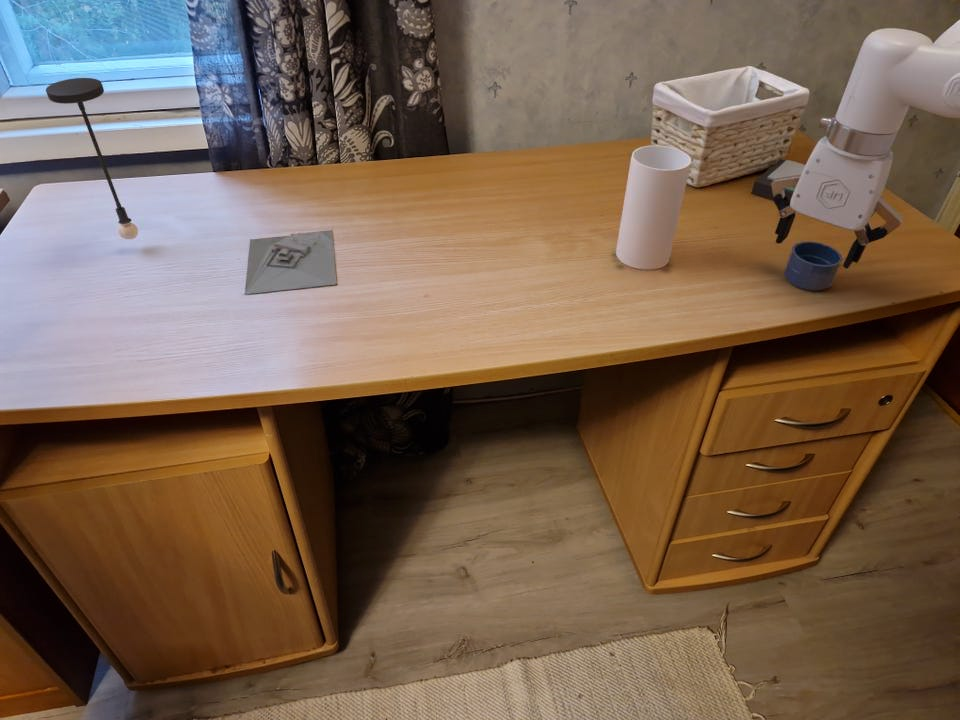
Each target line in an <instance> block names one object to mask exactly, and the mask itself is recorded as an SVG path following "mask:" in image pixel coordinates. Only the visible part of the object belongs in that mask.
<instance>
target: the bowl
mask: <svg viewBox="0 0 960 720" xmlns="http://www.w3.org/2000/svg"><path fill="white" fill-rule="evenodd" d="M842 263H843V255H842V254H841V253H840V251H839V250H838V249H836V248H834V247H832V246H831V245H829V244H825V243H823V242H818V241H813V240H812V241H811V240H810V241H809V240H808V241H805V240H804V241H800V242H796V243H795V244H794V245H793V246H792V247H791V249H790V252H789V255H788V256H787V261H786V263H785V265H784V269H783V276H785V279H786V280H787V281H788V282H789V283H790V284H792V285H793V286H794V287H796V288H799V289H801V290H805V291H811V292H819V291H822V290H826V289H828V288H831V286H832V285H833V284H834V282H835V279H836V277H837V275H838V273H839V270H840V267H841V265H842Z"/></svg>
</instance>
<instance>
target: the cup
mask: <svg viewBox="0 0 960 720" xmlns="http://www.w3.org/2000/svg"><path fill="white" fill-rule="evenodd" d="M690 165H691V158H690V157H689V155H688V154H686V153H685V152H683V151H681V150H678V149H676V148H672V147H667V146H657V145H654V146H651V145H645V146H644V145H643V146H640V147H638V148H636V149H634V151H632V154H631V157H630V163H629V169H628V176H627V180H626V187H625V193H624V199H623V204H622V212H621V219H620V224H619V230H618V231H619V232H618V235H617V242H616V248H615V256H616V258H617V259H618V260H619V261H620V262H621V264H624V265H625V266H629V267H630V268H633V269H638V270H642V271H643V270H646V271H651V270H657V269H658V270H659V269H661V268H663V267H665V266H666V265H667V264H668V263H669V262H670V259H671V255H672V249H673V245H674V240H675V237H676V232H677V228H678V223H679V219H680V215H681V214H680V213H681V210H682V205H683V202H684V201H683V200H684V196H685V191H686V188H687V179H688V174H689V170H690Z"/></svg>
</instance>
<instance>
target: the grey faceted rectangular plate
mask: <svg viewBox="0 0 960 720" xmlns="http://www.w3.org/2000/svg"><path fill="white" fill-rule="evenodd" d="M333 285H337V273H336V261H335V249H334V238H333V230H332V229H330V230H319V231H310V232H300V233H290V234H289V235H281V236H269V237H259V238H250V239H249V246H248V256H247V267H246V278H245V288H244V294H245V295H251V294H260V293H269V292H279V291H287V290H289V291H290V290H296V289H297V290H298V289H306V288H316V287H326V286H333Z"/></svg>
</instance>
